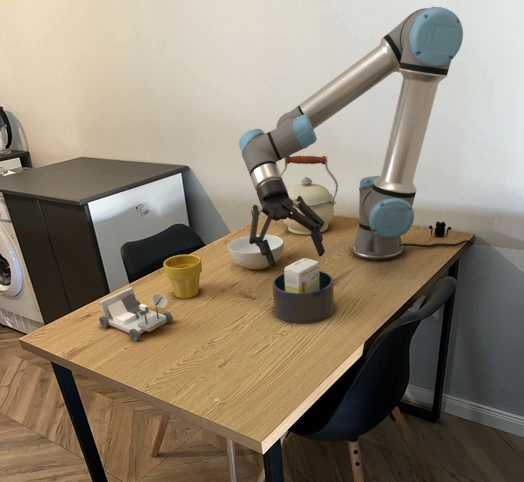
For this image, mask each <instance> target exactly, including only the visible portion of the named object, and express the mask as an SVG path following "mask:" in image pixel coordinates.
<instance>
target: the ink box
mask: <svg viewBox="0 0 524 482" xmlns="http://www.w3.org/2000/svg"><path fill="white" fill-rule="evenodd" d="M319 271H320V261H317V260H314V259H311V258H307V257H302V258H300V259H298V260H297V261H294V262H293V263H291V264H288V265H287V266H285V267H284V271H283V273H284V274H285V291H286V292H290V293H309V292H315V291H319V290H320V286H319Z"/></svg>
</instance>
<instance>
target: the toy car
mask: <svg viewBox="0 0 524 482" xmlns="http://www.w3.org/2000/svg"><path fill="white" fill-rule="evenodd" d="M135 294H136V293H135V291H134V287H132V286H131V287H128V288H126V289H123V290H121V291H119V292H117V293H115V294H112V295H111V296H108V297H106V298H104V299H102V300H100V301H99V306H100V310H101V314H102V316H100V317H99V318H98V322H99V324H100V326H101V327H103V328H104V329H106V328H108V327H109V326H111V327H114V328H116V329H119V330H121V331H124V332H126V333H127V334H129V336H130V339H132V340H133V341H134V342H137V341H139V340H140V337H141V336H140V335H141V334H143V333H144V332H148V333H150V332H152V331H153V330H156V329H157V328H159V327H161V326H162V325H164V324H166V323H167V324H171V323H172V322H173V321H174V318H173V316H172V314H171V312H170V311H168V310H166V311H164V312H163V313H159V311H158V309H163V308H166V307H167V306H168V299H167V297H166V296H165V294H163V293H160V292H156V293H153V294H152V295H151V304H152V306H153V307H154V308H155V311H154V310H151V309H149V307H148V305H146V304H144V303H141V302H140V301H139V300H137V297H136V295H135Z"/></svg>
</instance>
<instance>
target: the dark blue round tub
mask: <svg viewBox="0 0 524 482" xmlns="http://www.w3.org/2000/svg"><path fill="white" fill-rule="evenodd" d="M271 284H272V293H273V294H272V296H273V309H274V314H275V316H276V317H277V318H278V319H280V320H282V321H284V322H287V323H291V324H313V323H318V322H320V321H323V320H325V319H327V318H329V317H330V316H331V315H332V314H333V313H334V278H333V276H332V275H331V274H329V273H328V272H325V271H322V270H319V286H320V290H319V291H315V292H309V293H290V292H286V291H285V274H284V272H282V273H280V274H278V275H277V276H276V277H275V278H273V280H272V283H271Z"/></svg>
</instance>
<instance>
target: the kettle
mask: <svg viewBox="0 0 524 482" xmlns="http://www.w3.org/2000/svg"><path fill="white" fill-rule="evenodd" d="M328 160H329V159H328V156H326V155H322V156H316V155H310V156H309V155H294V156H293V155H292V156H291V155H290V156H288V157H285V158H284V169H283V170H282V172H280V174H281V176H283V175H284V173H285V171H286V170H287V168H288V165H289V164H296V165H301V164H302V165H318V164H322V165H324V166H325V168H324V169H325V171H326V172H327V174H328V175H329V176H330V178H331V179H332V180H333V182H334V185H335V191H334V195H333V194H331V193H330V191H329V190H328V188H327V187H325V186H324V185H321V184H319V183H313V180H312V179H311V178H310V177H308V176H305V177H303V178H302V179H301V181H300V184H296V185H294V186H292V187H290V188H289V189H287V192H288V195H289V198H290V199H291V200H294V199H297V198H298V196H301V197H302V198H303V200H304V202H305V203H306V204H307V205H308V206H309V207H310V208H311V209H312V210H313V211H314V212H315V213H316V214H317V215H318V216H319V217H320V218H321V219H322V220H323V221H324V225H323V227H322V228H321V229H320V232H321V233H322V232H325V231H326V230H327V229H329V224H330V223H331V221H332V220H333V219H334V215H335V208H334V206H335V205H336V204H337V201H335V199H336V196H337V193H338V190H339V184H338V181H337V179H336V177H335V176H334V175H333V172H331V170H330V169H329V167H328ZM292 207H294V208H295V209H297V211H298V212H299V213H301V212H300V210H299V209H298V208H296V207H295V206H294V205H293V206H292ZM290 213H291V214H292V212H290ZM301 214H303V213H301ZM303 215H304V214H303ZM304 216H305V215H304ZM282 221H283V223H284V224H285V226H287V228H288V231H289V232H291V233H292V234H296V235H305V236H306V235H307V236H309V235H310V234H311V232H312V231H310V230H308V229H307V228H305V227H304V226H302V225H301V224H299V223H298V222H296V221H294V220H291V219H289V218H288V217H287V219H282Z"/></svg>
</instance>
